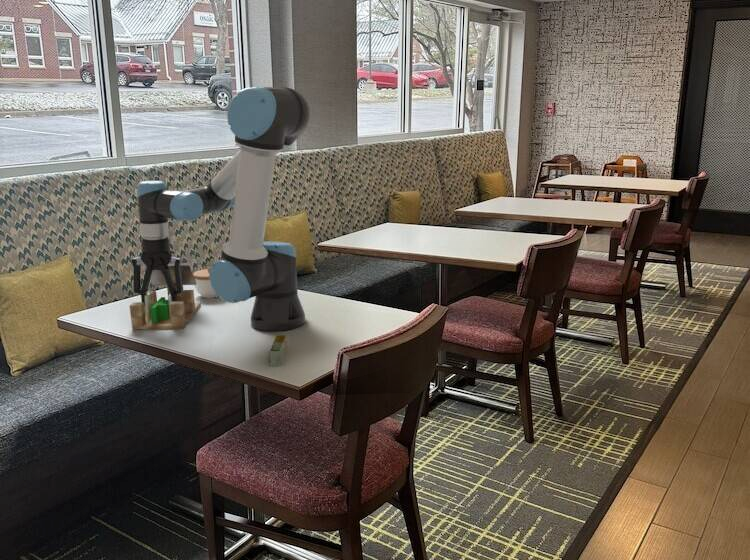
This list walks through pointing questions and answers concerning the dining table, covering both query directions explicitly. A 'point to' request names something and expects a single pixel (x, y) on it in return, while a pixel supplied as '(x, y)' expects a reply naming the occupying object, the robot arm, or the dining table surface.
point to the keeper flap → (186, 272)
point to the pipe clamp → (160, 310)
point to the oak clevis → (179, 315)
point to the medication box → (277, 350)
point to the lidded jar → (204, 284)
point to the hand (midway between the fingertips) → (160, 316)
